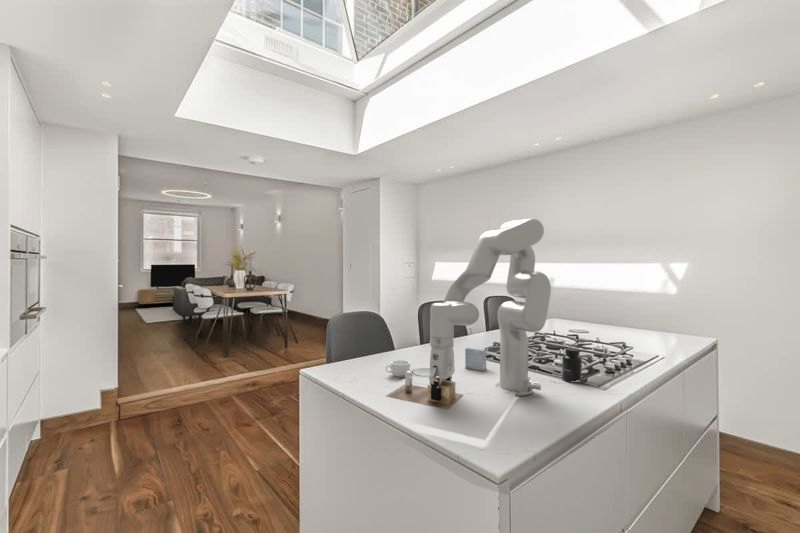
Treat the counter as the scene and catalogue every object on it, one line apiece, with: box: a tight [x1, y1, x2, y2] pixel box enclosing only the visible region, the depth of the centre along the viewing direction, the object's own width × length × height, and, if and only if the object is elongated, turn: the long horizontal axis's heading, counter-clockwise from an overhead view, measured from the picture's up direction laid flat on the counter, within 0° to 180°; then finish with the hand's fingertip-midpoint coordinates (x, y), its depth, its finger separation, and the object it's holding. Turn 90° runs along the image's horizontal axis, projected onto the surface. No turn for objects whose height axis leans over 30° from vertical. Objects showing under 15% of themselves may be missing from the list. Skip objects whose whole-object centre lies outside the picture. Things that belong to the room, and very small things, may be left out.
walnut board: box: [385, 384, 464, 410], centre depth 123 cm, size 22×14×2 cm, turn 61°
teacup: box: [385, 359, 411, 378], centre depth 149 cm, size 10×8×5 cm
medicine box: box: [464, 346, 487, 372], centre depth 159 cm, size 8×4×9 cm, turn 58°
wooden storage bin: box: [427, 380, 456, 404], centre depth 120 cm, size 7×7×5 cm
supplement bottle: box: [561, 347, 583, 382], centre depth 143 cm, size 7×7×12 cm
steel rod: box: [404, 371, 413, 393], centre depth 126 cm, size 2×2×7 cm
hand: (441, 395), depth 120 cm, fingers open, 8 cm apart
